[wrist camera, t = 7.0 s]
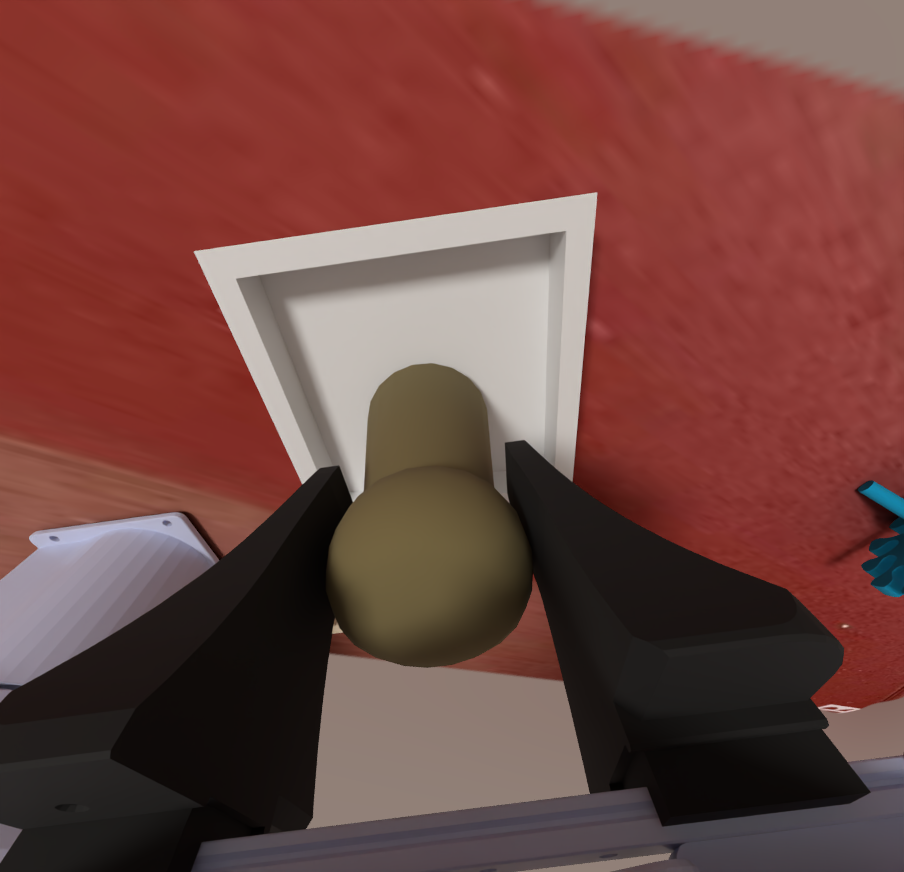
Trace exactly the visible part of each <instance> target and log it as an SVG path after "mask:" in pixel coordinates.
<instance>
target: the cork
mask: <svg viewBox="0 0 904 872" xmlns="http://www.w3.org/2000/svg"><path fill="white" fill-rule="evenodd" d="M532 579H533V559H532V549H531V546H530V544H529V541H528V539H527V536H526V534H525V531H524V529H523V526H522V524H521V521H520V519H519V516H518V514H517V511H516V510H515V509H514V508H513V507H512V506H511V505H510V504H509V502H508V501H507V500H506V499H505V498H504V497H503V496H502V495H501V494H500V493H499V492H498V491H497V490H496V489H495V488H494V479H493V468H492V457H491V446H490V435H489V424H488V413H487V407H486V404H485V402H484V399H483V397H482V394H481V392H480V390H479V389H478V388H477V387H476V386H475V385H474V383H473V382H472V381H471V380H470V379H469V378H468V377H467V376H465V375H463V374H462V373H460V372H458V371H457V370H455V369H453V368H452V367H447V366H443V365H438V364H434V363H428V364H416V365H411V366H408V367H406V368H403V369H401V370H399V371H396V372H394V373H393V374H392V375H390V376H389V377H388V378H387V379H386V380H385V381H384V382H383V383H381V384H380V385H379V387H378V389H377V390H376V392H375V394H374V396H373V398H372V400H371V401H370V407H369V413H368V421H367V440H366V458H365V477H364V492H363V493H361V494H360V495H359V496H358V497H357V498H356V499H355V501H354V502H353V503H352V504H351V505H350V507H349V508H348V510H347V511H346V513H345V515H344V516H343V518H342V520H341V521H340V523H339V525H338V526H337V528H336V530H335V532H334V535H333V537H332V540H331V543H330V545H329V551H328V559H327V567H326V593H327V596H328V599H329V602H330V605H331V608H332V611H333V614H334V616H335V618H336V621H337V623H338V626H339V628H340V629H341V630H342V631H343V633H344V634H345V635H346V636H347V637H348V638H349V639H350V640H351V642H352V643H353V644H354V645H355V646H357V647H359V648H361V649H362V650H364V651H366V652H367V653H369V654H371V655H372V656H374V657H376V658H379V659H382V660H386V661H389V662H393V663H397V664H400V665H403V666H413V667H426V668H428V667H437V666H446V665H453V664H456V663H459V662H462V661H465V660H468V659H471V658H474V657H476V656H479V655H480V654H482V653H484V652H486V651H487V650H489V649H491V648H493V647H494V646H496V645H498V644H499V643H501V642H502V641H503V640H504V639H505V638H506V637H507V636H508V635H509V634H510V633H511V632H512V631H513V630H514V629H515V628H516V627H517V625H518V623H519V621H520V619H521V617H522V615H523V613H524V611H525V609H526V606H527V603H528V600H529V598H530V595H531V592H532Z"/></svg>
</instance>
